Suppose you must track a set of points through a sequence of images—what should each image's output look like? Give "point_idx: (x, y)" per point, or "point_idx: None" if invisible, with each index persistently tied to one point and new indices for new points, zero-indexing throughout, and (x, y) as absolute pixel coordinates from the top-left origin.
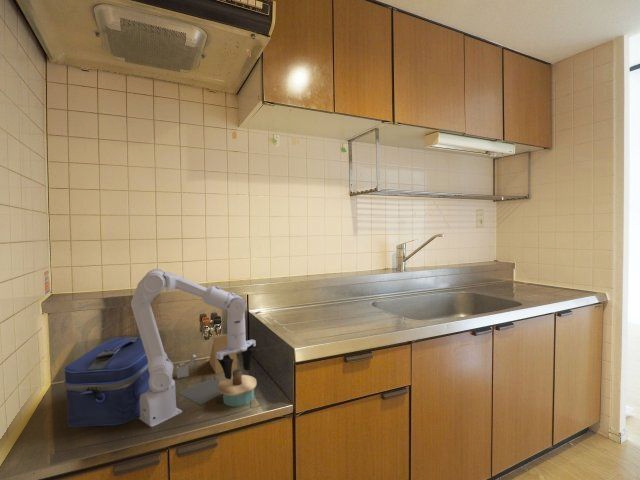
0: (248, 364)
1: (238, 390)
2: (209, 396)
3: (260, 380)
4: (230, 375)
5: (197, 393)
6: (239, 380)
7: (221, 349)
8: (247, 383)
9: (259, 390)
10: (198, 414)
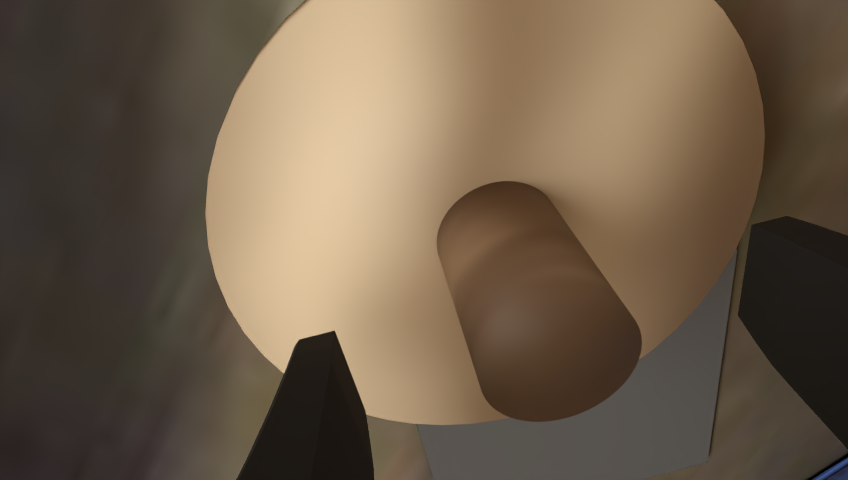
0: (326, 430)
1: (623, 22)
2: None
3: (74, 344)
4: (840, 242)
5: (637, 404)
6: (520, 216)
7: None
8: (389, 146)
9: (164, 165)
10: (833, 130)
